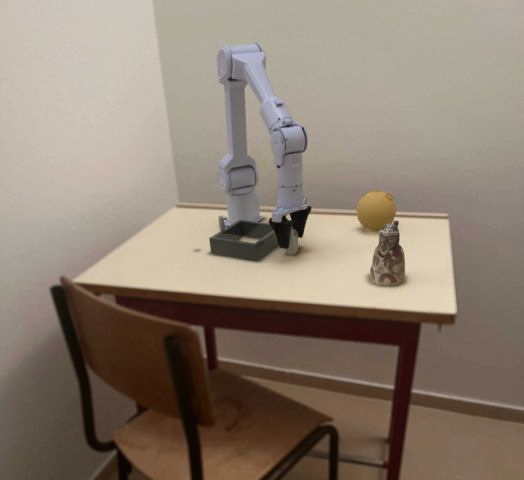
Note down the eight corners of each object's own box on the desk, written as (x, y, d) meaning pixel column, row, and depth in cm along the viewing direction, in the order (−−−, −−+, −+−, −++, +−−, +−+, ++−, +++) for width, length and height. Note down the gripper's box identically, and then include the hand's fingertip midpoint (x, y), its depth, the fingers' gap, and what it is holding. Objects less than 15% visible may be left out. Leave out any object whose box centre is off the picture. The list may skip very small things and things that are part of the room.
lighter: (291, 247, 127) (291, 216, 123) (298, 248, 126) (298, 216, 122) (284, 259, 121) (282, 226, 117) (291, 259, 121) (290, 226, 116)
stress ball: (395, 236, 130) (398, 196, 125) (355, 235, 131) (357, 196, 126) (393, 222, 138) (396, 185, 133) (355, 222, 140) (357, 185, 134)
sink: (235, 233, 138) (233, 207, 134) (284, 240, 131) (283, 213, 128) (205, 252, 127) (202, 224, 124) (256, 261, 121) (255, 232, 117)
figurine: (362, 279, 110) (366, 224, 103) (382, 268, 114) (386, 215, 107) (391, 288, 105) (396, 232, 99) (410, 277, 109) (416, 222, 103)
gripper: (291, 194, 108) (292, 255, 115) (319, 177, 119) (319, 234, 126) (262, 191, 111) (265, 251, 118) (291, 175, 122) (293, 230, 129)
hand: (291, 242), depth 122 cm, fingers closed on lighter, 7 cm apart
